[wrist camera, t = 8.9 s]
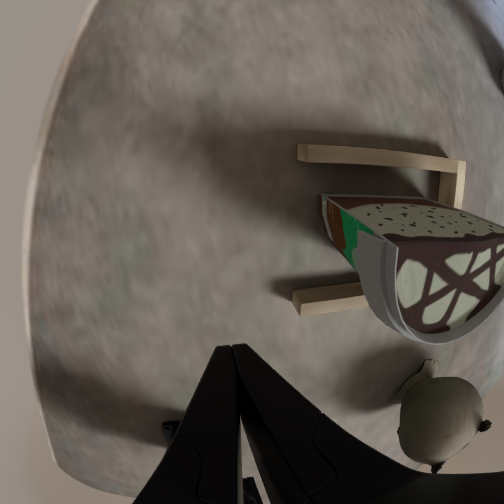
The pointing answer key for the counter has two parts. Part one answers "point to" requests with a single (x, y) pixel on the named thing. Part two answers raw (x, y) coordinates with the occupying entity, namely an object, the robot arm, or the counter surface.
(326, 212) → the food container
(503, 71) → the salt shaker
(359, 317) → the counter surface
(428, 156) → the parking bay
